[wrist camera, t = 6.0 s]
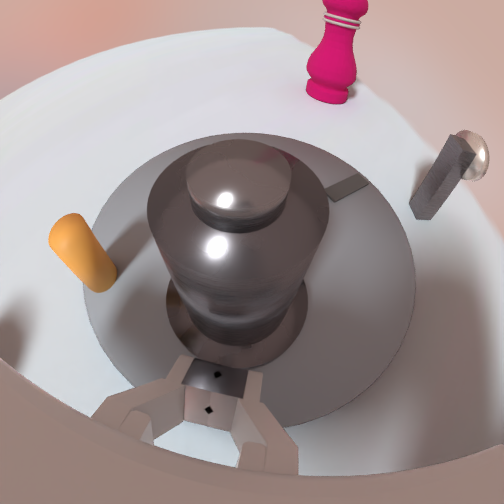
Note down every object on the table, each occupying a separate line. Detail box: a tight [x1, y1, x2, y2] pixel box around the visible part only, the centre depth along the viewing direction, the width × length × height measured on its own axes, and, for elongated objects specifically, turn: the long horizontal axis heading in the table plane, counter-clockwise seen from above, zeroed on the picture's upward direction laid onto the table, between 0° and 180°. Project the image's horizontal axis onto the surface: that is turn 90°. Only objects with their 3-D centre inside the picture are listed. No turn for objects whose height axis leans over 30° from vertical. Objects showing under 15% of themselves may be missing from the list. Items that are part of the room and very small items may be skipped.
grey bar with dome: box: [409, 130, 489, 220], centre depth 19 cm, size 4×3×10 cm
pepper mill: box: [306, 0, 368, 104], centre depth 26 cm, size 7×7×20 cm
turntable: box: [48, 133, 416, 428], centre depth 16 cm, size 24×24×6 cm
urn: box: [147, 139, 329, 370], centre depth 11 cm, size 8×8×10 cm
